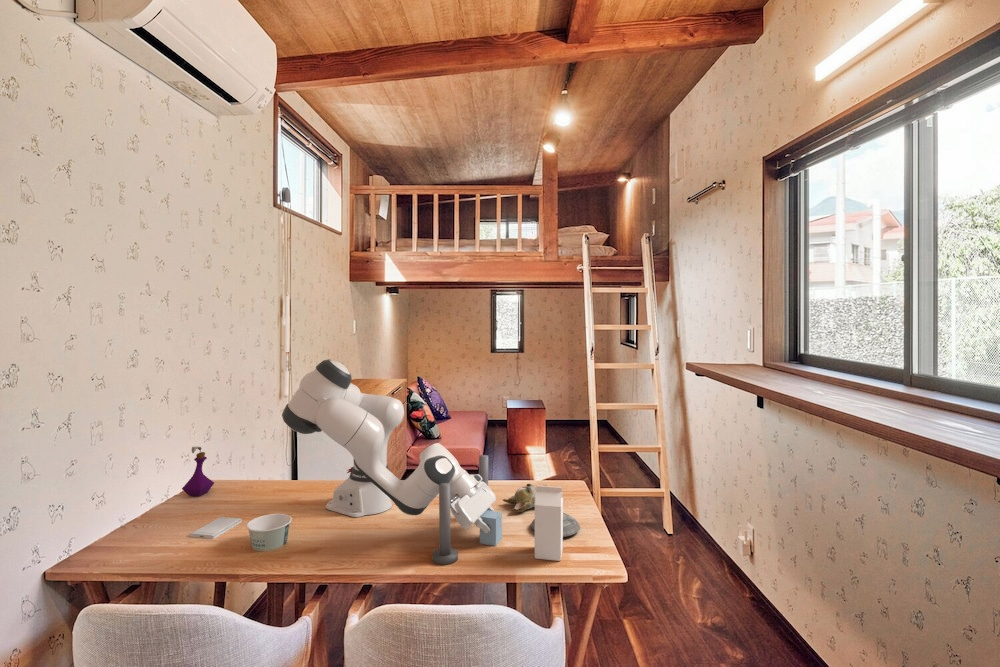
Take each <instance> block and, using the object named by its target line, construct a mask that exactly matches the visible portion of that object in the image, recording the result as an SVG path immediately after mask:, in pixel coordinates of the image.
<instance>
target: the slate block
mask: <svg viewBox="0 0 1000 667" xmlns="http://www.w3.org/2000/svg"><path fill="white" fill-rule="evenodd" d="M480 517H481V519H482V521H483V522H484V523H485V524H489V526H490V527H491V530H490V531H489V532H488V533H485V532H484V531H483V530H482V529H480V528H479V544H481V545H487V546H493V547H497V545H498V544H499V543H500V542H501V541H502V539H503V534H502V533H503V532H502V530H503V528H502V525H503V512H502V511H496V510H494V511H490V510H486V511H485V512H484V513H483V514H482V515H481V516H480Z"/></svg>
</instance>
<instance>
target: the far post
mask: <svg viewBox="0 0 1000 667" xmlns="http://www.w3.org/2000/svg"><path fill="white" fill-rule="evenodd" d="M478 474H479V475H480V476H481V477H482V481H483V482H485V483H486V484H487V485H488V486H489V455H487V454H481V455H479V457H478Z"/></svg>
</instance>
